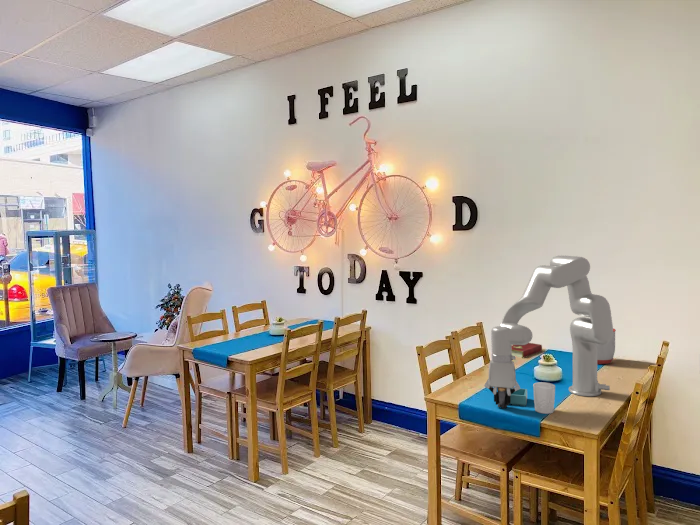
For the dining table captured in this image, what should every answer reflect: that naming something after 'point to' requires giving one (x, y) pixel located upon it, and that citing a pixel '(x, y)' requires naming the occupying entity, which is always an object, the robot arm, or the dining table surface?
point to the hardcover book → (525, 349)
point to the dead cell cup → (519, 397)
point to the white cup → (544, 397)
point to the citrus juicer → (606, 351)
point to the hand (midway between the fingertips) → (502, 403)
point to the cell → (502, 397)
